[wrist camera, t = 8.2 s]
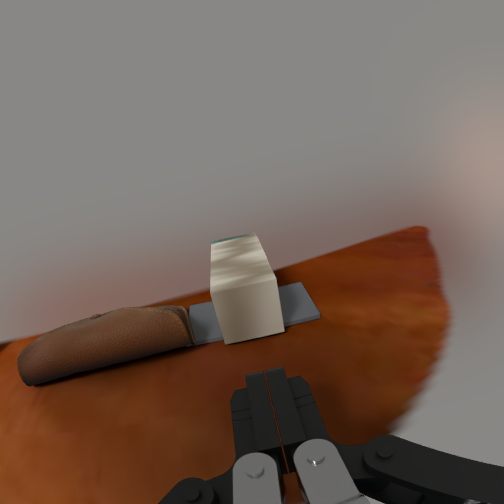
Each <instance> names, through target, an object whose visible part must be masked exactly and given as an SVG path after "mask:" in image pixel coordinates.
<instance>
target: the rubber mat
mask: <svg viewBox="0 0 504 504" xmlns="http://www.w3.org/2000/svg"><path fill="white" fill-rule="evenodd" d="M278 292H279V299H280V305H281V311H282V318H283V324H284V327H286V326H290V325H294V324H298V323H302V322H306V321H310V320H314V319H318V318H321V317H320V313H319V311H318V309H317V308H316V306H315V304H314V303H313V301H312V299H311V298H310V296H309V294H308V293H307V291H306V289H305V288H304V286H303V285H302V283H301V282H298V283H294V284H290V285H285V286H281V287H278ZM189 319H190V323H191V326H192V329H193V333H194V336H195V340H196V345H199V344H205V343H211V342H216V341H221V340H224V338H223V335H222V332H221V328H220V325H219V322H218V318H217V315H216V311H215V308H214V304H213V301H211V302H206V303H201V304H196V305H191V306H190V311H189ZM188 346H194V345H191V344H189V345H187V347H188Z"/></svg>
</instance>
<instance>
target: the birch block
mask: <svg viewBox="0 0 504 504" xmlns="http://www.w3.org/2000/svg"><path fill="white" fill-rule="evenodd" d="M210 282H211V283H210V294H211V297H212V301H213V304H214V308H215V311H216V315H217V318H218V322H219V325H220V328H221V332H222V335H223V338H224V342H225V344H230V343H235V342H240V341H245V340H249V339H254V338H259V337H263V336H268V335H272V334H276V333H281V332H285V331H284V324H283V318H282V311H281V305H280V299H279V292H278V286H277V280H276V277H275V275H274V273H273V270H272V268H271V266H270V264H269V262H268V260H267V257H266V255H265V253H264V251H263V248H262V246H261V244H260V242H259V240H258V238H257V235H256V233H250V234H245V235H241V236H236V237H231V238H226V239H222V240H217V241H213V242H211V281H210Z"/></svg>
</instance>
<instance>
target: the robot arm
mask: <svg viewBox="0 0 504 504" xmlns="http://www.w3.org/2000/svg"><path fill="white" fill-rule="evenodd" d="M265 373H266V377H267V382H268V386H269V390H270V395H271V399H272V403H273V407H274V412H275V416H276V420H277V424H278V428H279V432H280V436H281V440H282V444H283V448H284V452H285V456H286V460H287V464H288V468H289V472H290V473H292V472H295V473H296V477H297V481H298V484H299V489H300V492H301V495H302V497H303V500H304V502H305V504H370V503H369V501H368V499H367V498H366V497H365V496H368V497H370V498H372V499H375V500H377V501H380V502H382V503H385V504H504V467H501V466H497V465H492V464H487V463H483V462H478V461H474V460H470V459H466V458H463V457H458V456H455V455H452V454H448V453H445V452H441V451H438V450H435V449H431V448H428V447H425V446H422V445H419V444H416V443H413V442H410V441H407V440H404V439H402V438H399V437H396V436H393V435H381V436H377V437H375V438H374V439H372V440H371V441H370V442H369V443H368V444H365V445H342V444H339V443H336V442H335V441H333V440H332V439H331V438H330V437H329V436H328V434H327V431H326V429H325V426H324V424H323V421H322V418H321V416H320V413H319V411H318V408H317V406H316V404H315V400H314V398H313V396H312V393H311V390H310V387H309V385H308V383H307V382H306V381H305V380H303V379H302V378H301V377H300V376H296V377H292V378H288V379H287V377H286V374H285V371H284V368H283V367H279V368H274V369H270V370H266V371H265ZM245 377H246V384H247V388H243V389H238V390H235V391H234V393H233V396H232V398H231V401H230V402H231V412H232V421H233V432H234V441H235V450H236V459H235V462H234V464H233V466H232V467H231V468H230V469H229V470H228V471H227V472H225V473H224V474H222V475H220V476H217V477H215V478H212V479H210V480H207V481H205V480H203V479H200V478H187V479H184V480H182V481H180V482H178V483H177V484H176V485H175V486H174V487H173V488H172V489H171V491H170V492H169V493H168V494H167V495H166V496H165V497H164V498H163V499H162V500H161V501H160V502H159V503H158V504H287V503H286V495H285V492H286V488H285V483H284V479H283V475H284V474H288V472H287V468H286V464H285V460H284V456H283V451H282V447H281V443H280V439H279V435H278V431H277V427H276V422H275V418H274V414H273V410H272V406H271V401H270V397H269V393H268V389H267V385H266V380H265V376H264V372H263V371H262V372H257V373H252V374H247V375H245ZM360 493H361V494H363V495H361V494H360ZM364 495H365V496H364Z"/></svg>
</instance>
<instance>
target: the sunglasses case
mask: <svg viewBox="0 0 504 504" xmlns="http://www.w3.org/2000/svg"><path fill="white" fill-rule="evenodd" d="M189 344H191V345H196V340H195V336H194V333H193V329H192V326H191V323H190V319H189V315H188V312H187V309H186V308H185V307H183V306H173V305H168V306H167V305H166V306H157V307H151V308H150V307H127V308H121V309H117V310H114V311H110V312H107V313H104V314H102V315H100V314H96V315H94V316H92V317H90V318H86V319H83V320H80V321H77V322H74V323H71V324H68V325H64V326H61V327H59V328H57V329H54V330H52V331H50V332H48V333H46V334H44V335H43V336H41V337H39V338H38V339H36V340H35V341H33V342H32V343H30V344H29V345H28V346H27V347H26V348H24V349H23V350H22V351H21V352H20V354H19V356H18V359H17V366H18V371H19V374H20V376H21V379H22V380H23V382H24V383H25V384H26V385H27V386H32V385H36V384H40V383H44V382H47V381H51V380H55V379H57V378H59V377H65V376H68V375H71V374H73V373H76V372H84V371H88V370H94V369H98V368H102V367H106V366H109V365H112V364H115V363H121V362H126V361H131V360H134V359H138V358H142V357H145V356H149V355H152V354H156V353H160V352H164V351H168V350H171V349H174V348H179V347H184V346H186V345H189Z"/></svg>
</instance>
